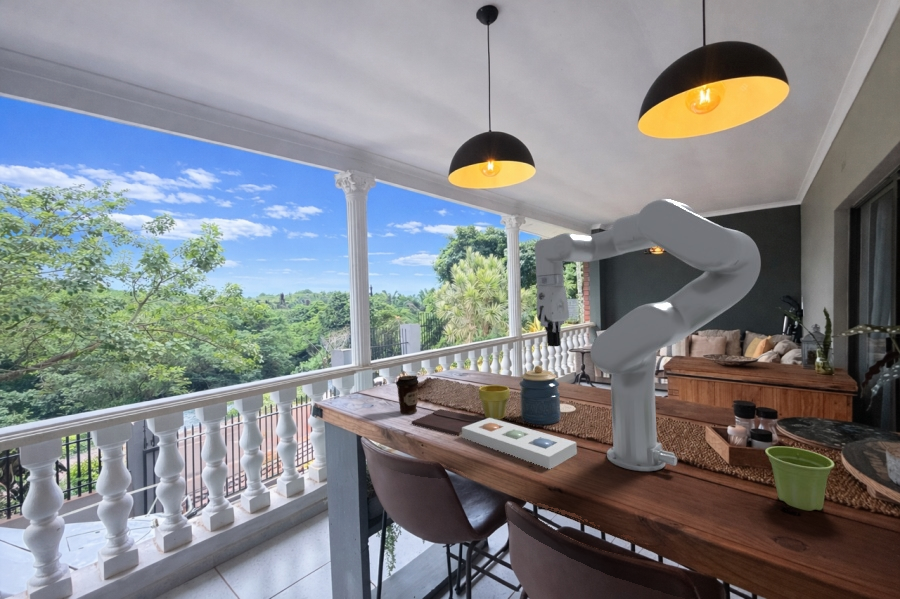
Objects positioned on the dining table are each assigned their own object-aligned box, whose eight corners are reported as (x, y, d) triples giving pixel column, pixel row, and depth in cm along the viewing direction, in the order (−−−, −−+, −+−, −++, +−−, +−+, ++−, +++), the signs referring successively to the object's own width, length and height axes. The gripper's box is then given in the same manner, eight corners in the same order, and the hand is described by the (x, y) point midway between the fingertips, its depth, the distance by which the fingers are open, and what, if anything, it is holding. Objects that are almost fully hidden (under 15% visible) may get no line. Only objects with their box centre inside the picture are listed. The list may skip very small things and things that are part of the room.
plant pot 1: (500, 410, 135) (499, 383, 135) (516, 418, 126) (514, 389, 126) (474, 414, 131) (473, 387, 131) (489, 423, 122) (487, 393, 122)
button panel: (576, 453, 95) (576, 442, 95) (549, 469, 87) (549, 456, 87) (490, 427, 118) (489, 417, 118) (462, 437, 110) (461, 427, 110)
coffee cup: (425, 410, 139) (423, 375, 139) (411, 417, 132) (409, 380, 132) (406, 408, 143) (405, 374, 143) (392, 414, 136) (390, 378, 136)
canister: (513, 417, 127) (510, 365, 127) (543, 410, 132) (541, 360, 132) (537, 428, 115) (534, 371, 115) (569, 420, 121) (567, 366, 121)
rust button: (502, 435, 109) (502, 425, 109) (491, 440, 106) (491, 430, 106) (490, 432, 113) (490, 422, 113) (479, 436, 110) (479, 426, 110)
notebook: (458, 437, 112) (458, 431, 112) (411, 426, 124) (411, 420, 124) (486, 423, 123) (486, 417, 123) (441, 413, 136) (440, 408, 136)
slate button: (556, 453, 96) (556, 441, 96) (545, 459, 93) (545, 447, 93) (540, 448, 99) (540, 436, 99) (529, 453, 96) (529, 442, 96)
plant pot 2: (833, 500, 70) (831, 453, 70) (839, 524, 63) (836, 472, 63) (768, 485, 76) (766, 442, 76) (766, 505, 69) (764, 458, 69)
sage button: (527, 444, 102) (527, 433, 102) (516, 449, 99) (516, 437, 99) (514, 439, 106) (513, 429, 106) (503, 444, 103) (502, 433, 103)
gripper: (547, 281, 100) (551, 349, 100) (575, 281, 110) (579, 343, 110) (523, 283, 105) (527, 348, 105) (552, 283, 116) (556, 342, 115)
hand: (554, 345), depth 107 cm, fingers closed
